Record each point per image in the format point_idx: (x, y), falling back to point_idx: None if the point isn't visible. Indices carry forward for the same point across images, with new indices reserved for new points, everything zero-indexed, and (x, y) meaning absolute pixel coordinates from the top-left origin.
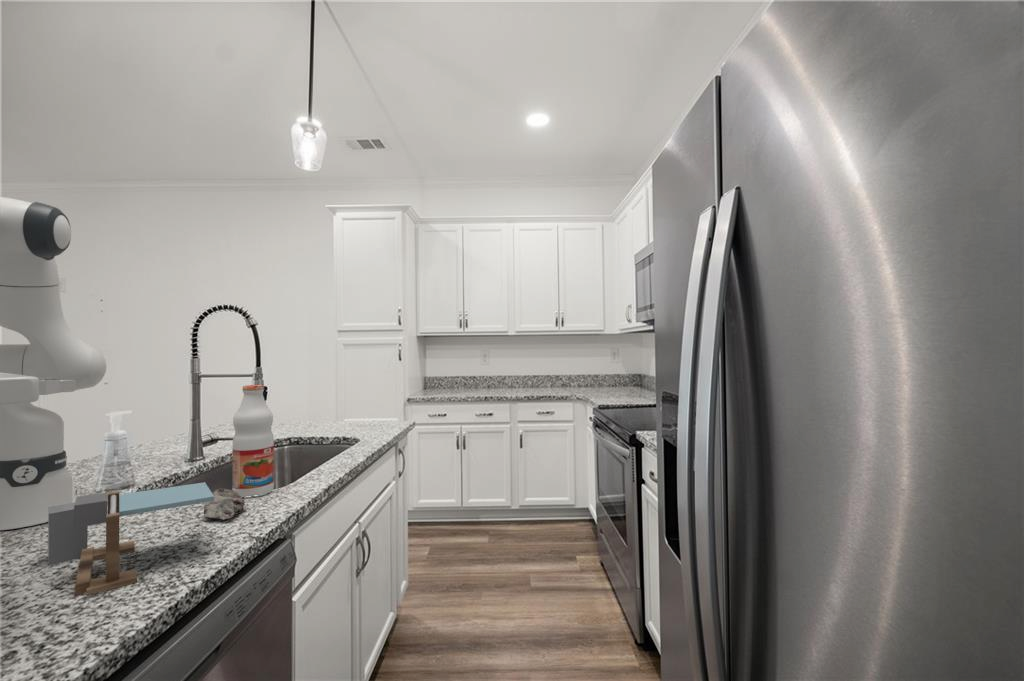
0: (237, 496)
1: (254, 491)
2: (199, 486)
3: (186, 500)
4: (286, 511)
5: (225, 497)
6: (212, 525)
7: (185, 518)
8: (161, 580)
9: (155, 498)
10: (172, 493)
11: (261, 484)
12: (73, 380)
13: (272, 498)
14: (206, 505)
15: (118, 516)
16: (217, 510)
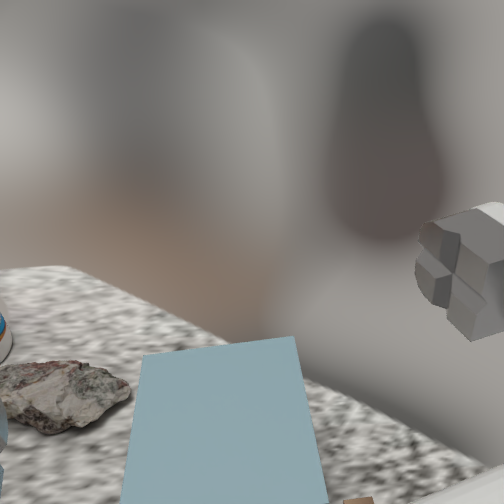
0: (38, 365)
1: (4, 345)
2: (177, 362)
3: (297, 377)
4: (151, 317)
5: (50, 377)
6: (120, 422)
7: (13, 473)
8: (382, 495)
9: (235, 436)
10: (208, 406)
11: (3, 326)
12: (498, 203)
13: (48, 331)
14: (60, 412)
15: (371, 500)
16: (97, 398)
